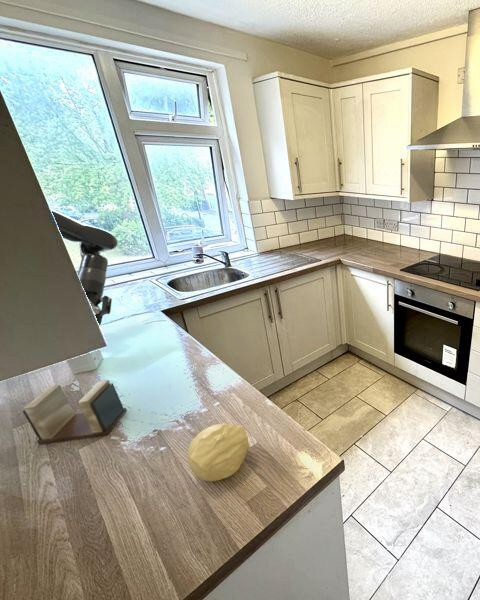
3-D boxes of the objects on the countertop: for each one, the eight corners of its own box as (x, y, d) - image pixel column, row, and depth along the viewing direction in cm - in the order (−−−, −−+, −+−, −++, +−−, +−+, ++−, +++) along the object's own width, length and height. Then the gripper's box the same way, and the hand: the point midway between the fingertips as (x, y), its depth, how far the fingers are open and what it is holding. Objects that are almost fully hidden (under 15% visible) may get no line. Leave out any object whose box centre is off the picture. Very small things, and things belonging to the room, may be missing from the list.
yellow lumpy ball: (210, 501, 68) (197, 464, 63) (184, 470, 74) (171, 434, 70) (260, 463, 76) (252, 428, 72) (233, 438, 83) (224, 405, 78)
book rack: (38, 444, 81) (17, 409, 76) (64, 418, 89) (47, 385, 84) (107, 435, 83) (91, 401, 79) (127, 410, 91) (113, 378, 87)
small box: (80, 362, 113) (64, 328, 107) (103, 357, 115) (89, 324, 110) (72, 374, 106) (55, 340, 101) (97, 369, 109) (82, 335, 104)
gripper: (57, 279, 110) (45, 325, 104) (106, 277, 112) (97, 321, 107) (74, 288, 117) (64, 332, 111) (120, 285, 119) (112, 328, 114)
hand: (80, 327), depth 109 cm, fingers open, 8 cm apart
